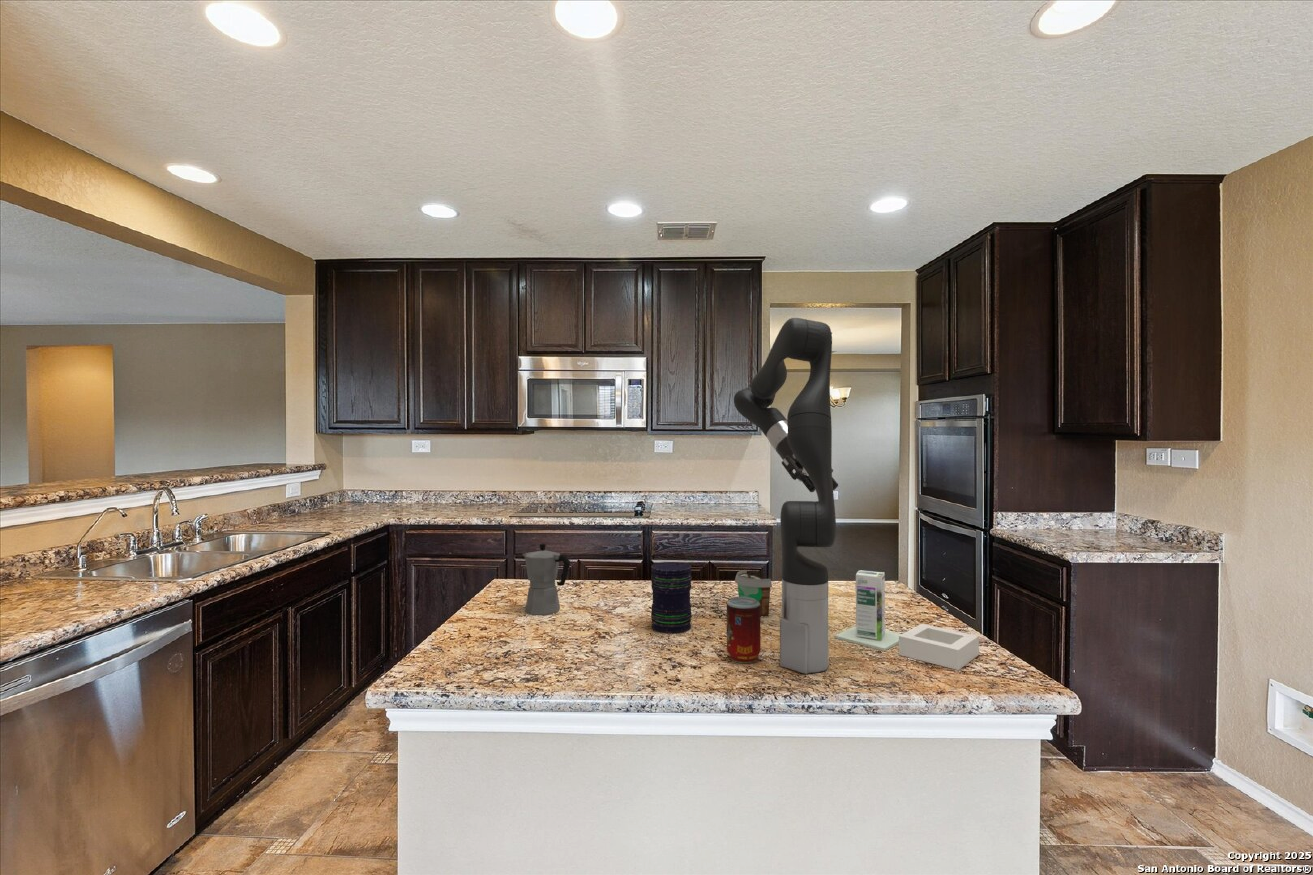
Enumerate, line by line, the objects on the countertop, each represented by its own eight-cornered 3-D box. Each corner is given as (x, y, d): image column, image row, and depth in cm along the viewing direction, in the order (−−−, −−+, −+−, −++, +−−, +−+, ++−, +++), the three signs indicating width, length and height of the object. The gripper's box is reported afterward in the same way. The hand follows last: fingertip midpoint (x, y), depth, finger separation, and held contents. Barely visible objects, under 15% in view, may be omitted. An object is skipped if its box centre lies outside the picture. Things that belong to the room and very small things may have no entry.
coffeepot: (511, 612, 160) (511, 544, 160) (534, 603, 169) (534, 539, 169) (558, 620, 153) (558, 549, 153) (580, 610, 162) (580, 543, 162)
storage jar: (675, 636, 140) (675, 572, 140) (642, 628, 146) (642, 567, 146) (699, 626, 148) (699, 565, 148) (667, 618, 154) (667, 560, 154)
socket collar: (958, 670, 120) (958, 649, 120) (898, 654, 128) (898, 635, 128) (978, 654, 128) (978, 635, 128) (921, 641, 137) (921, 623, 137)
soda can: (723, 652, 130) (723, 595, 130) (755, 651, 130) (756, 594, 130) (730, 665, 123) (730, 604, 123) (764, 664, 123) (764, 604, 123)
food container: (726, 608, 163) (726, 571, 163) (745, 605, 166) (745, 569, 166) (751, 621, 152) (751, 581, 152) (772, 617, 155) (771, 578, 155)
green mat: (885, 651, 130) (885, 648, 130) (834, 638, 139) (834, 635, 139) (908, 638, 139) (908, 635, 139) (859, 626, 147) (859, 624, 147)
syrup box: (855, 637, 138) (854, 573, 138) (859, 629, 143) (859, 568, 143) (881, 641, 135) (881, 576, 135) (885, 633, 140) (885, 571, 140)
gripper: (777, 431, 149) (816, 480, 141) (812, 431, 158) (851, 477, 150) (761, 452, 154) (798, 501, 145) (796, 451, 163) (833, 497, 154)
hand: (825, 489), depth 147 cm, fingers open, 8 cm apart
